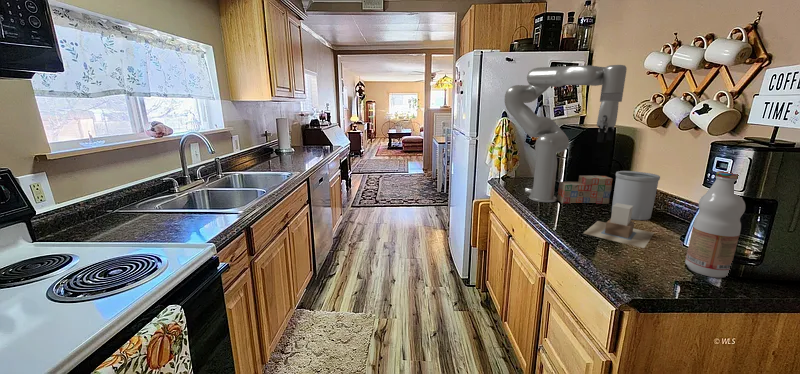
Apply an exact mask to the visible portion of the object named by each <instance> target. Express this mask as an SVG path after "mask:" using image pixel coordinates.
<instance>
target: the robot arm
mask: <svg viewBox="0 0 800 374" xmlns="http://www.w3.org/2000/svg"><path fill="white" fill-rule="evenodd" d="M528 71H529V70H528ZM626 76H627V66H626V65H624V64H611V65H607V66H598V65H588V64H587V65H570V66H568V65H567V66H563V65H562V66H542V67H535V68H532V69H531V70H530V71H529V72H528V73H527V75H526V81H527V83H528V85H524V84H516V85H512V86H510V87H508V89H507V90H506V91H505V94H504V105H505V109H506V111H507V112H508V113H509V114H510V115H511V116H512V118H513V119H515V120H514V121H516V122H517V123H518V125H519V126H520V127H521V128H522V130H523V131H524V132H525V133H526V134H527V135H528V136H529V137H531V138H536V141H535V144H534V148H535V165H534V174H533V175H534V176H533V183H532V184H533V185H532V188H529V187H525V189H524V192H525V193H528V194H529V195H528V198H529V199H530V200H532V201H534V202H538V203H554V202H555V203H556V202H557V201H558V200H557V198H558V197H557V196H555V195H554V194H555V186H556V180H557V179H556V178H557V170H558V158H557V154H558V153H562V152H564V151H566V150H567V149H568V147H569V145H570V144H569V143H570V141H569V137H568V136H567V135H566V133H565V132H564V130H562V129H561V127H559V125H558V124H557V123H556V122H555V121H554V120H553V119H552V118H550V117H547V116H538V115H537V114H536V113H535V112H534V110H532V108H531V107H529V106H528V105H527V104H529V103H532V102H534V101H536V100H537V99H538V98H540V96H541V95H543V94H544V93H545V92H546V91H547V90H548V89H550V88H551V87H553V88H554V87H556V88H557V87H559V88H560V87H563V86H591V87H592V86H594V87H596V86H597V87H598V86H601V89H600V97H599V102H600V105H599V108H598V109H599V111H598V113H597V114H598V116H597V120H596V126H597V127H598V132H597V139H596V142H597V143H605V144H606V143H607V141H608V142H609V141H611V142H612V141H613V140H614V133H615V126H616V124H617V120H618V113H619V105H620V104H619V103H622V102H623V96H624V89H625V83H626Z"/></svg>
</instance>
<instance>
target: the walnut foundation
mask: <svg viewBox="0 0 800 374" xmlns="http://www.w3.org/2000/svg"><path fill="white" fill-rule="evenodd" d="M610 221H611V218H609V220H607V221H605V223H606V228H605V233H606V234H611V235H615V236H619V237H624V238H629V237H630V235H631V234H632V233H633V228H634V227H635V222H634V221H631V222H630V223H629V224H628V225H627V226H625V225H621V224H616V223H611V222H610Z"/></svg>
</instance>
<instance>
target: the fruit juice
mask: <svg viewBox="0 0 800 374" xmlns="http://www.w3.org/2000/svg"><path fill="white" fill-rule="evenodd" d="M724 171H725V170H718V171H716V173H715V181H714V182H713V184H712V185H711V187H710V188H709V189H708V191H707V192H706V193H704V194H703V195H702V196H701V197H700V199H699V201H698V210H699V211H698V213H697V214H696V216H695V218H694V221H693V224H692V230H691V234H690V238H689V241H688V242H689V243H688V247H687V252H686V257H685V261H684V263H685V265H686V268H687V269H688V270H690V271H691V272H694V273H696V274H699V275H702V276H706V277H710V278H726V276H727V277H728V276H729V275H728V273H729V270H730V271H731V269H730V266H731V267H732V265H731V263H732V264H733V262H732V261H734V257H735V254H736V249H737V247H738V241H739V238H740V234H741V231H742V222H741V218H742V216H743V214H744V213H745V211H746V202H745V200H744V198H743V197H740V196H738V195H735V194H734V182H735V181H737V179H738V176H739V175H738V174H733V173H728V172H729V171H728V172H724ZM729 274H730V273H729Z"/></svg>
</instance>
